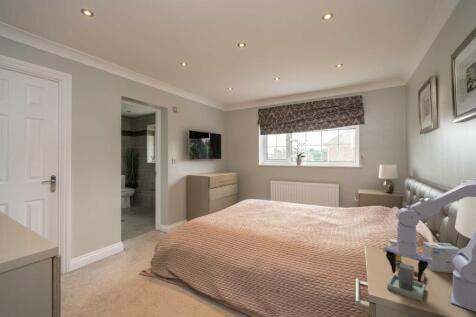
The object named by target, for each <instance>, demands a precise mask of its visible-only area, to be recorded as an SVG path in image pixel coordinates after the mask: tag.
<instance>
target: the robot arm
mask: <svg viewBox="0 0 476 317" xmlns="http://www.w3.org/2000/svg"><path fill="white" fill-rule="evenodd" d="M465 198H476V177H474V178H473V179H469V180H466V181H464V182H463V183H461V184H460V185H457V186H455V187H454V188H452V189H450V190H448V191H445V192H444V193H442V194H440V195H438V196H437V197H434V198H429V197H426V198H422V197H421V198H419V199H418V200H419V201H418V202H416V203H415V202H414V203H413V204H410V205H406V206H405V207H401V208H400V209H398V210H397V212H396V213H395V217H396V219H397V227H396V231H397V233H396V234H397V235H396V236H397V237H396V240H397V248H394V247H388V245H384V246H383V247H382V248H383V253H386V254H385V256H386V259H387V260H388V262H389V266H390V267H391V273H392V274H395V273H396V271H397V268H396V264H397V263H395V262H396V255H399V256H401V257H403V258H406V259H410V260H411V259H412V260H414V261H418V263H417V268H418V269H417V271H418V276H417V278H418V281H419V282H420V281H421V277H422V274H423V273H425V271H426V270H427V269H428V268H427V266H428V264H430V265H432V258H431V257H427V256H424V255H423V253H422V254H421V253H419V252H417V225H418V224H419V221H423V220H424V219H427V218H429V217H432V216H434V215H436V214H439V213H440V212H441V208H442V207H445V206H447V205H449V204H452V203H455V202H457V201H460V200H462V199H465ZM459 249H460V251H459V252H458V253H457V254H455V255H453V256H452V257H451V263H452V265H453V266H454V267H455V270H454V271H453V273H452V291H450V292H451V295H450V303H451V304H453V305H455V306H458V307H462V308H463V309H466V310H469V311H473V312H475V313H476V230H475V231H474V233H473V234H472V236H471V238H470V240H469V242H468V243H467V245H466V246H465V247H462V248H459Z"/></svg>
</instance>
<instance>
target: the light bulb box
mask: <svg viewBox="0 0 476 317" xmlns="http://www.w3.org/2000/svg"><path fill="white" fill-rule="evenodd" d="M422 249H423V250H422V255H424V256H427V257H431V258H432V265H430V264H428V266H427V268H426V269H429V270H430V271H431V272H439V273H440V272H441V273H449V274H450V273H451V274H453V271H454V270H455V267H454V266H453V265H452V263H451V257H452V256H453V255H455V254H457V253H458V252H459V251H460V249H461V248H459V247H456V246H455V245H453V244H452V243H447V242H446V243H445V242H433V241H432V242H430V241H423V242H422Z"/></svg>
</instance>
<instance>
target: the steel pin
mask: <svg viewBox="0 0 476 317" xmlns="http://www.w3.org/2000/svg"><path fill="white" fill-rule="evenodd" d="M414 270H415V266H413V265H410V264H406V263H403V262H401V263H399V265H398V272H399V287H400V288H403V289H406V290H408V291H411V292H412V291H413V288H414V277H415V275H414Z"/></svg>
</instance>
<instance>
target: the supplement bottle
mask: <svg viewBox="0 0 476 317" xmlns="http://www.w3.org/2000/svg"><path fill="white" fill-rule="evenodd" d="M387 246H388V247H394V248H397V239H394V238H390V239H389V243H388V244H387ZM395 263H396V264H401V263H402V256H399V255H396V262H395Z"/></svg>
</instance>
